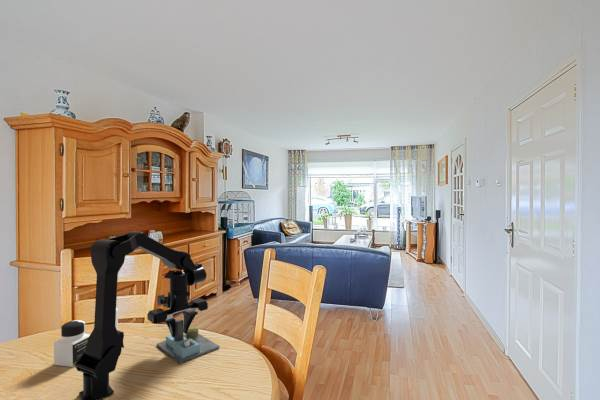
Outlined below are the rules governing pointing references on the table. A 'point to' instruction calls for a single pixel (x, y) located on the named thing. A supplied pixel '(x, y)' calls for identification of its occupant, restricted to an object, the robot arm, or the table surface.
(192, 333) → the base plate
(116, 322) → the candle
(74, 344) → the medicine bottle
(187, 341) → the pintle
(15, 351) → the table surface
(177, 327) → the link
